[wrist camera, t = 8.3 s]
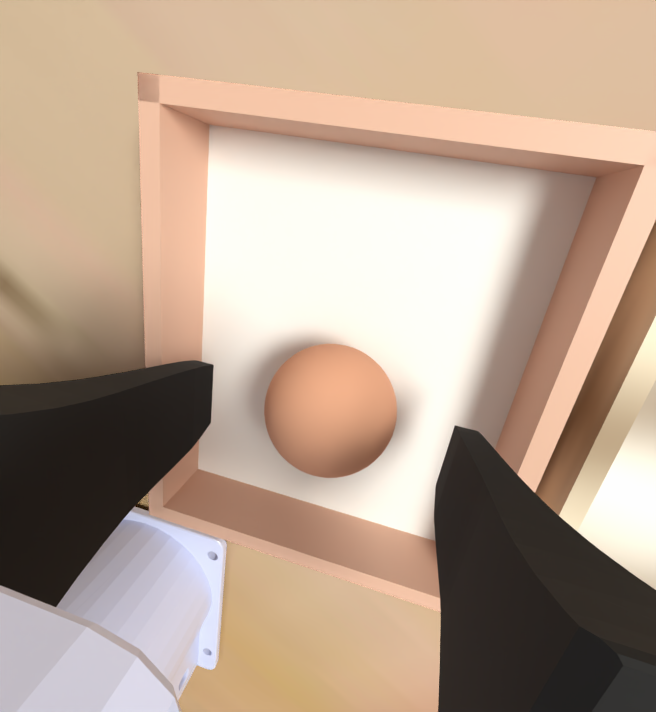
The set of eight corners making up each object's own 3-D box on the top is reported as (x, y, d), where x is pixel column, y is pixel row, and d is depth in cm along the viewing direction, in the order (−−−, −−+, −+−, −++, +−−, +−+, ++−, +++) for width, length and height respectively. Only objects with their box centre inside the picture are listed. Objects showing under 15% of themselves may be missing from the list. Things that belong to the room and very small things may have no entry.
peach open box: (468, 555, 15) (476, 624, 13) (190, 470, 17) (149, 514, 15) (624, 156, 10) (692, 135, 7) (199, 103, 12) (137, 72, 9)
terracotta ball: (387, 445, 14) (375, 525, 10) (283, 418, 15) (236, 485, 11) (412, 342, 13) (408, 394, 9) (295, 318, 13) (247, 355, 9)
